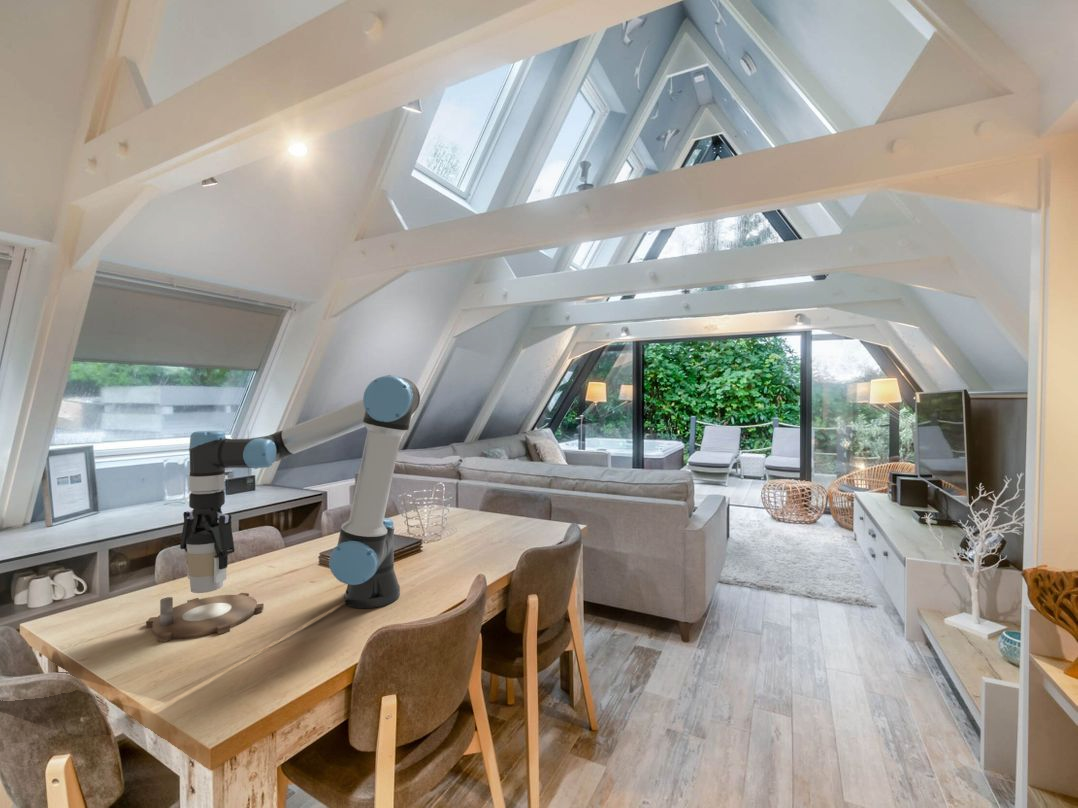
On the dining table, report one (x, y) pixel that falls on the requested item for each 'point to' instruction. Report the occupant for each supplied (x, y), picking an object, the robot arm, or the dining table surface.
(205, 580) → the coffee cup
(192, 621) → the index disc
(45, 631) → the dining table surface
